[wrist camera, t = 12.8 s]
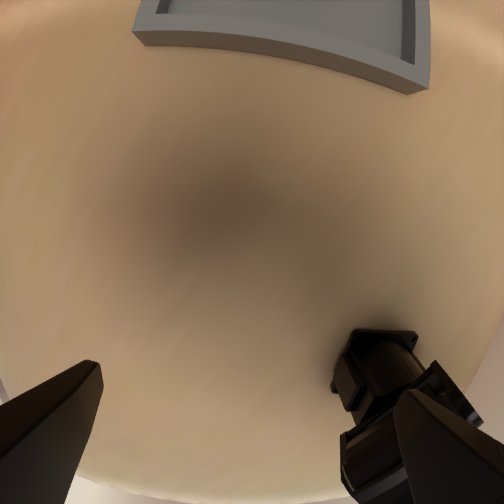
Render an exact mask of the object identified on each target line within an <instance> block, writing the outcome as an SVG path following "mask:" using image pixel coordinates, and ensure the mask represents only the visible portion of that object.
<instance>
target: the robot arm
mask: <svg viewBox="0 0 504 504" xmlns="http://www.w3.org/2000/svg"><path fill="white" fill-rule="evenodd" d="M357 335H359V336H358V337H356V336H357ZM417 340H418V335H417V334H416V333H415V332H403V331H380V330H362V329H357V330H354V331H353V332H352V333H351V336H350V338H349V341H348V344H347V347H346V349H345V352H344V353H343V354H342V355H341V358H340V360H339V363H338V366H337V368H336V371H335V373H334V376H333V382H332V384H331V387H330V388H331V391H332V393H335V394H339V396H340V398H341V401H342V404H343V406H344V409H345V410H346V412H351V414H352V417H353V419H354V422H355V425H356V426H355V427H354V428H352V429H351V430H349V431H348V432H347V431H346V432H344V433H343V434H341V435H340V472H341V481H342V483H343V484H344V486H345V488H346V489H347V491H348V493H349V494H350V495H351V496H352V497H353V498H354V499H355V500H356V501H357V502H358V503H359V504H504V444H502V443H500V442H499V441H497V440H495V439H493V438H492V437H490V436H489V435H487V434H486V433H484V432H483V431H481V430H479V429H478V428H479V427H480V426H481V425H482V424H483V423H484V422H483V420H482V419H481V418H480V416H479V415H478V413H477V412H476V411H475V409H474V408H473V407H472V405H471V404H470V403H469V401H468V400H467V399H466V397H465V396H464V395H463V393H462V392H461V391H460V390H459V388H458V387H457V386H456V384H455V383H454V382H453V381H452V379H451V378H450V377H449V376H448V374H447V373H446V372H445V371H444V369H443V368H442V367H441V366H440V365H439V363H438V362H437V361H436V360H434V361H433V362H432V363H431V364H430V367H429V368H427V369H425V368H424V367H423V365H422V364H421V363H420V361H419V360H418V359H417V357H416V356H415V355H414V353H413V352H412V351H413V349H414V347H415V345H416V342H417ZM103 387H104V384H103V378H102V372H101V367H100V364H99V363H98V362H95V361H91V360H83V361H82V362H80V363H78V364H76V365H74V366H73V367H71V368H69V369H67V370H65V371H63V372H62V373H60V374H58V375H56V376H54V377H52V378H51V379H49V380H47V381H45V382H43V383H41V384H39V385H38V386H36V387H34V388H32V389H30V390H28V391H26V392H25V393H23V394H21V395H19V396H17V397H15V398H13V399H12V400H10V401H8V402H6V403H4V404H2V405H0V504H64V503H65V500H66V497H67V494H68V491H69V488H70V486H71V483H72V480H73V478H74V475H75V472H76V470H77V467H78V464H79V462H80V459H81V457H82V454H83V452H84V449H85V447H86V444H87V442H88V439H89V437H90V434H91V431H92V427H93V424H94V420H95V416H96V413H97V409H98V406H99V403H100V399H101V396H102V393H103ZM335 388H336V389H335Z"/></svg>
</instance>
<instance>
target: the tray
mask: <svg viewBox="0 0 504 504" xmlns="http://www.w3.org/2000/svg"><path fill="white" fill-rule="evenodd" d="M132 32H133V33H134V35H135V36H136V37H137V38H138V39H139V40H140V41H141V42H142V43H143V44H144V45H145V46H188V47H204V48H216V49H226V50H235V51H243V52H250V53H257V54H263V55H269V56H275V57H280V58H286V59H291V60H295V61H300V62H304V63H309V64H313V65H317V66H321V67H325V68H329V69H332V70H336V71H340V72H343V73H346V74H350V75H353V76H356V77H359V78H363V79H366V80H369V81H372V82H375V83H377V84H380V85H383V86H386V87H388V88H391V89H394V90H396V91H399V92H402V93H404V94H407V95H409V94H412V93H416V92H419V91H423V90H426V89H429V79H430V50H431V32H430V5H429V0H141V3H140V6H139V9H138V12H137V15H136V18H135V21H134V25H133V28H132Z"/></svg>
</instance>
